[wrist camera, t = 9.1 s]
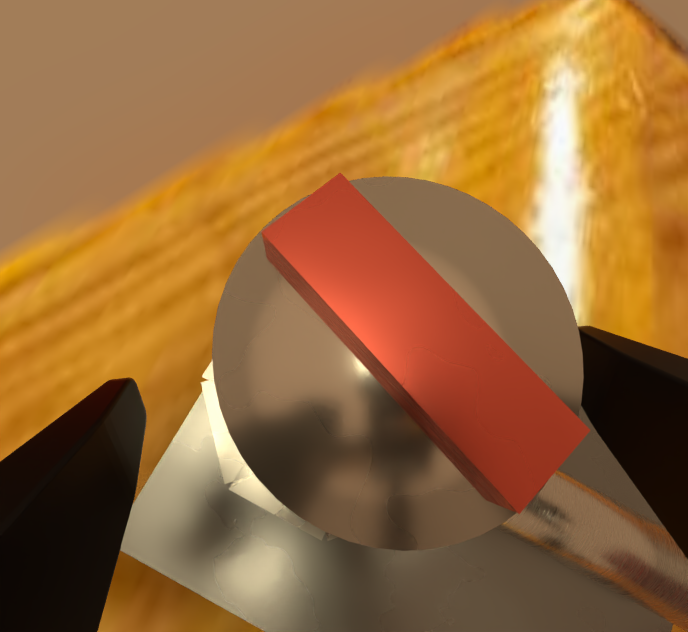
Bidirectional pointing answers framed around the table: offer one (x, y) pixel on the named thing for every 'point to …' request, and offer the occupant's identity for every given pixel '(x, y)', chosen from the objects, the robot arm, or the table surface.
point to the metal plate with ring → (408, 566)
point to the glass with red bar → (398, 363)
